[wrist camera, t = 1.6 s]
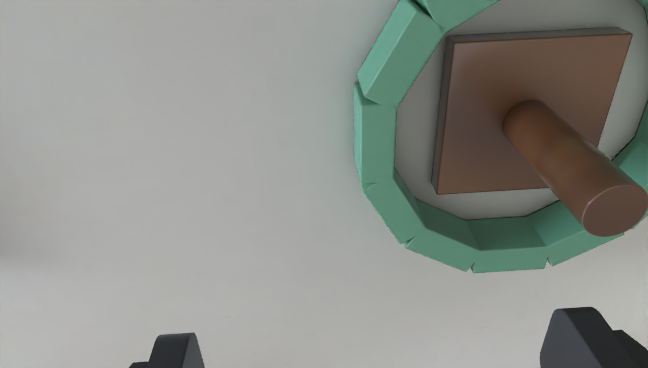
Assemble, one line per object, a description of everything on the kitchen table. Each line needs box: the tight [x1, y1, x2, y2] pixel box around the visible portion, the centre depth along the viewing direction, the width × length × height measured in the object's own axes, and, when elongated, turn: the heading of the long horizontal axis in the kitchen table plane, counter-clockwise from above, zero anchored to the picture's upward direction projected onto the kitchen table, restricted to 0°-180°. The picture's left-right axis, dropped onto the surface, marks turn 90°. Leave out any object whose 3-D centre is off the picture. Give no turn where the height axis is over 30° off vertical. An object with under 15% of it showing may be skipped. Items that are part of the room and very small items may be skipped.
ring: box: [354, 0, 648, 273], centre depth 20 cm, size 14×14×2 cm
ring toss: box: [432, 27, 648, 237], centre depth 17 cm, size 7×7×8 cm
